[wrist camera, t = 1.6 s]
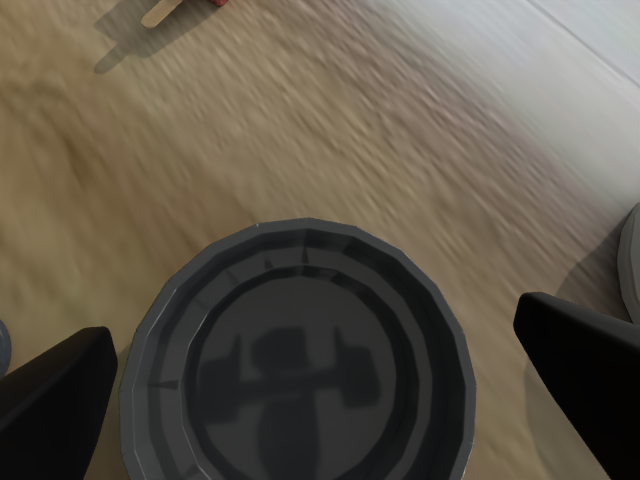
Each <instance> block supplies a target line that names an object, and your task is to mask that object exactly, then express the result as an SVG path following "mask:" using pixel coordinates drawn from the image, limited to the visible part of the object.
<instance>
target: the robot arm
mask: <svg viewBox="0 0 640 480" xmlns="http://www.w3.org/2000/svg"><path fill="white" fill-rule="evenodd" d="M513 327H514V331H515V334H516V336H517V337H518V339H519V341H520V343H521V344H522V346H523V348H524V350H525V351H526V353H527V355H528V357H529V358H530V360H531V362H532V363H533V365H534V367H535V369H536V370H537V372H538V374H539V376H540V377H541V379H542V381H543V382H544V384H545V386H546V387H547V389H548V391H549V392H550V394H551V395H552V397H553V398H554V400H555V401H556V403H557V404H558V405H559V407H560V408H561V410H562V411H563V412H564V414H565V415H566V417H567V418H568V420H569V421H570V422H571V424H572V425H573V427H574V428H575V429H576V431H577V432H578V434H579V435H580V436H581V438H582V439H583V441H584V442H585V444H586V445H587V446H588V448H589V449H590V451H591V452H592V453H593V455H594V456H595V458H596V459H597V461H598V462H599V463H600V465H601V466H602V468H603V469H604V470H605V472H606V473H607V475H608V476H609V478H610V479H611V480H640V326H637V325H635V324H632V323H629V322H626V321H623V320H620V319H617V318H614V317H612V316H609V315H606V314H603V313H600V312H597V311H594V310H592V309H589V308H586V307H583V306H580V305H577V304H574V303H572V302H569V301H566V300H563V299H560V298H557V297H554V296H551V295H549V294H546V293H543V292H530V293H524V294H522V295H521V297H520V298H519V302H518V306H517V310H516V314H515V318H514V322H513ZM117 367H118V361H117V356H116V352H115V348H114V345H113V341H112V337H111V333H110V331H109V329H108V328H106V327H104V326H101V327H89V328H83V329H82V330H80V331H78V332H77V333H75V334H73V335H72V336H70V337H69V338H67V339H65V340H64V341H62V342H60V343H59V344H57V345H55V346H54V347H52V348H51V349H49V350H47V351H46V352H44V353H42V354H41V355H39V356H38V357H36V358H34V359H33V360H31V361H29V362H28V363H26V364H24V365H23V366H21V367H20V368H18V369H16V370H15V371H13V372H11V373H10V374H8V375H6V376H5V377H3V378H2V379H0V480H83V479H84V476H85V473H86V471H87V468H88V466H89V463H90V461H91V458H92V456H93V453H94V450H95V447H96V445H97V442H98V438H99V435H100V432H101V428H102V424H103V420H104V417H105V413H106V409H107V406H108V402H109V398H110V395H111V391H112V387H113V383H114V380H115V376H116V372H117Z"/></svg>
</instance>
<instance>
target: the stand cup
mask: <svg viewBox="0 0 640 480" xmlns="http://www.w3.org/2000/svg"><path fill="white" fill-rule="evenodd" d="M10 357H11V342H10V336H9V334H8V331H7V329H6V327H5V325H4V324H3V322H2V321H1V320H0V379H2V378H3V377H4V375H5V373H6V371H7V368H8V366H9V362H10Z"/></svg>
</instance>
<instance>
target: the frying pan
mask: <svg viewBox="0 0 640 480" xmlns="http://www.w3.org/2000/svg"><path fill="white" fill-rule="evenodd" d="M617 267H618V274H619V281H620V288H621V295H622V299H623V301H624V303H625V306H626V308H627V310H628V312H629V315H630V317H631V319H632V322H633V324H635V325H637V326H640V202H639V203H638V204H636V206H635V207H634V209H633V211H632V213H631V214H630V216H629V218H628V220H627V221H626V223H625V225H624V227H623V228H622V231H621V237H620V243H619V249H618V256H617Z"/></svg>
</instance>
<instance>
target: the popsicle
mask: <svg viewBox="0 0 640 480" xmlns="http://www.w3.org/2000/svg"><path fill="white" fill-rule="evenodd" d="M182 1H183V0H161V1H160V2H159V3H158V4H157V5H155V6H154V7H153V8H152V9H151V10H150V11H149V12H148V13H147V14H146V15H145V16H144V17H143V18H142V20H141V23H142V26H143V27H144V28H147V29H151V28H154V27H155V26H156V25H158V24H159V23H160V22H161V21H162V20H163V19H164V18H165V17H166V16H167V15H168V14H169V13H170V12H171V11H172V10H173V9H174V8H175V7H176V6H177V5H178V4H179V3H181V2H182ZM210 1H211V2H213V3H214V4H216V5H218V6H222V5H224V4H225V3H226V2H227V1H228V0H210Z"/></svg>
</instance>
